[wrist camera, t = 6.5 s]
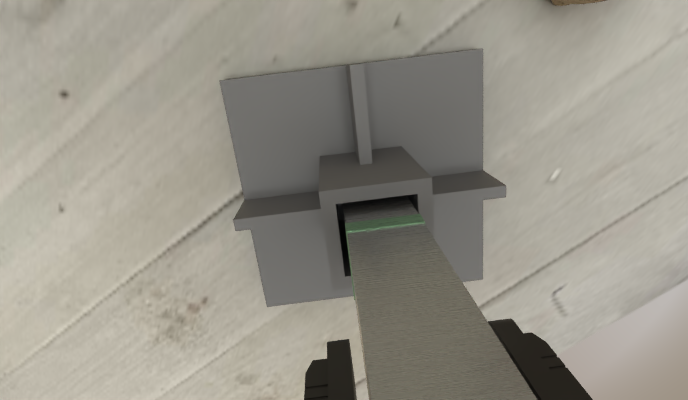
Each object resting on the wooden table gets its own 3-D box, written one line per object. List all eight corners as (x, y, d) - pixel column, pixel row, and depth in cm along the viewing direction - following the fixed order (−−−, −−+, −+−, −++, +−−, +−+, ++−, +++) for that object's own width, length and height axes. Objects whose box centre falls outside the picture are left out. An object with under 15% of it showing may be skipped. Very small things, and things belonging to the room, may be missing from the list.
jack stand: (269, 296, 34) (241, 419, 22) (224, 79, 28) (154, 90, 16) (476, 270, 34) (556, 377, 22) (475, 49, 28) (582, 38, 17)
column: (348, 253, 24) (397, 627, 8) (341, 197, 23) (383, 504, 7) (408, 246, 24) (575, 602, 8) (403, 189, 23) (590, 476, 7)
